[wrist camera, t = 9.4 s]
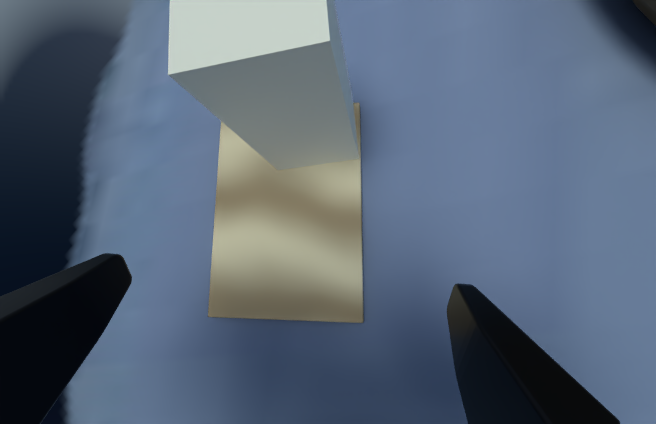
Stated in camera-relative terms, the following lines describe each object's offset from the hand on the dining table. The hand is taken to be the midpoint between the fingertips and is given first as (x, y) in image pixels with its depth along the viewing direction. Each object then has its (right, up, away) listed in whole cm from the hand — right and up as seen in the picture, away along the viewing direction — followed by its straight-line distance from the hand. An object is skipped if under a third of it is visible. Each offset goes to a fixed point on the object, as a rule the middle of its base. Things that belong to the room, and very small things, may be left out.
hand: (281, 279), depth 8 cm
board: (-1, +2, +12) cm, 12 cm away
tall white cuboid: (0, +7, +12) cm, 14 cm away
